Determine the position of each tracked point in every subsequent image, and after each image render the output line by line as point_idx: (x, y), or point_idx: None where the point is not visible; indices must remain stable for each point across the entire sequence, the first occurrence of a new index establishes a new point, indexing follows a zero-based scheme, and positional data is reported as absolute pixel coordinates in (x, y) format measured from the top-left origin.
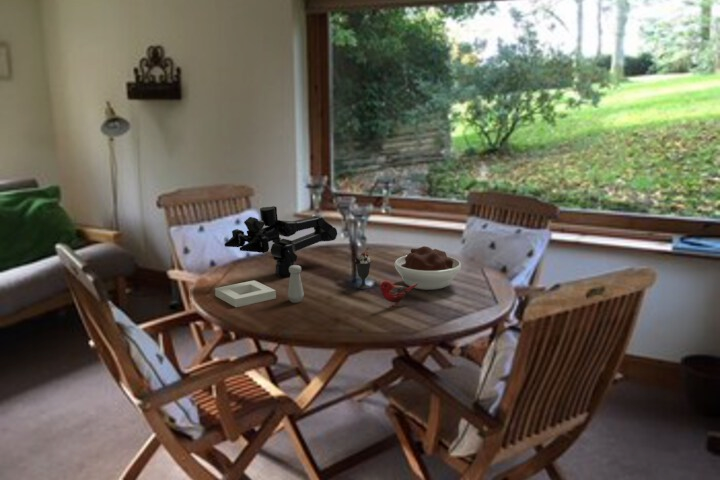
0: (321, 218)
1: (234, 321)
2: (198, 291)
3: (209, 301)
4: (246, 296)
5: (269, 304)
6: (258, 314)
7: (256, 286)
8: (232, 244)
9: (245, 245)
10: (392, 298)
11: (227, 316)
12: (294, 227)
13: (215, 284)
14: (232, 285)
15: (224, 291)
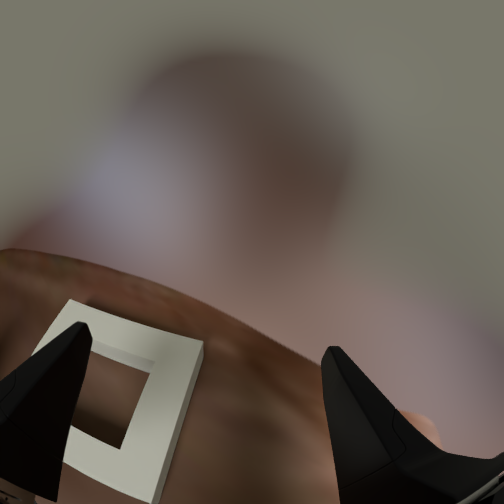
0: None
1: (46, 261)
2: (293, 354)
3: (178, 317)
4: (52, 328)
5: (11, 371)
6: (14, 305)
7: (76, 432)
8: (342, 443)
9: (39, 350)
10: None
11: (69, 271)
12: None
13: (328, 434)
14: (172, 398)
15: (143, 333)
